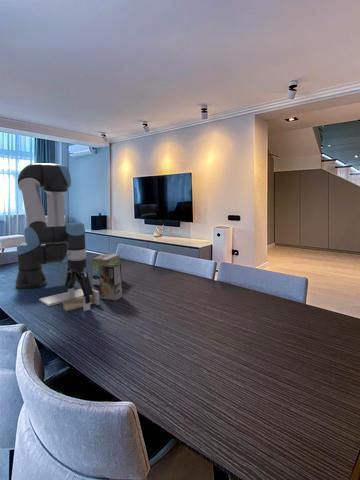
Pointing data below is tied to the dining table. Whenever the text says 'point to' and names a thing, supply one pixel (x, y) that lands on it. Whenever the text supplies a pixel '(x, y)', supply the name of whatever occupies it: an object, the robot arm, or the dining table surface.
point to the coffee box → (110, 281)
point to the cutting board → (59, 298)
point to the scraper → (80, 301)
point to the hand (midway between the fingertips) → (79, 306)
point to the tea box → (101, 260)
